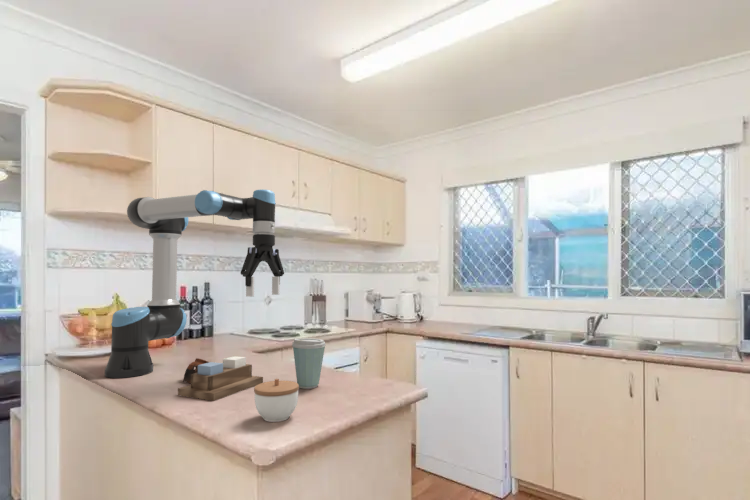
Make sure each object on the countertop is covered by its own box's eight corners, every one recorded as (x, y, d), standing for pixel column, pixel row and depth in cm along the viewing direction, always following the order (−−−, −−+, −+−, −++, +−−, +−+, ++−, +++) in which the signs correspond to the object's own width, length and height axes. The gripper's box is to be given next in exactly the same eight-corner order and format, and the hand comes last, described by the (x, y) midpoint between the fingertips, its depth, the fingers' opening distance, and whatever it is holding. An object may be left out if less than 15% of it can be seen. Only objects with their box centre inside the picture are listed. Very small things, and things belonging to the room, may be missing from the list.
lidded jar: (306, 419, 102) (306, 380, 103) (263, 429, 96) (263, 387, 96) (287, 408, 111) (288, 372, 111) (247, 416, 105) (248, 378, 105)
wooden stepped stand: (177, 395, 123) (178, 374, 124) (229, 379, 142) (230, 361, 143) (213, 400, 118) (214, 379, 118) (262, 383, 137) (263, 364, 137)
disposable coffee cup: (306, 380, 140) (306, 334, 141) (332, 384, 134) (332, 337, 135) (284, 388, 131) (284, 339, 132) (311, 392, 125) (311, 341, 126)
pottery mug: (180, 380, 143) (192, 357, 147) (206, 391, 145) (218, 367, 149) (180, 379, 133) (194, 354, 136) (209, 390, 135) (221, 365, 139)
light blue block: (197, 378, 125) (197, 365, 125) (210, 375, 129) (210, 362, 129) (210, 380, 122) (210, 366, 123) (223, 376, 127) (223, 363, 127)
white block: (222, 371, 134) (222, 359, 134) (233, 368, 138) (234, 356, 138) (234, 373, 132) (234, 360, 132) (245, 369, 136) (246, 357, 136)
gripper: (247, 230, 134) (247, 297, 133) (293, 236, 157) (293, 294, 155) (229, 231, 137) (228, 297, 136) (277, 237, 160) (277, 293, 159)
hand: (263, 295), depth 146 cm, fingers open, 13 cm apart
